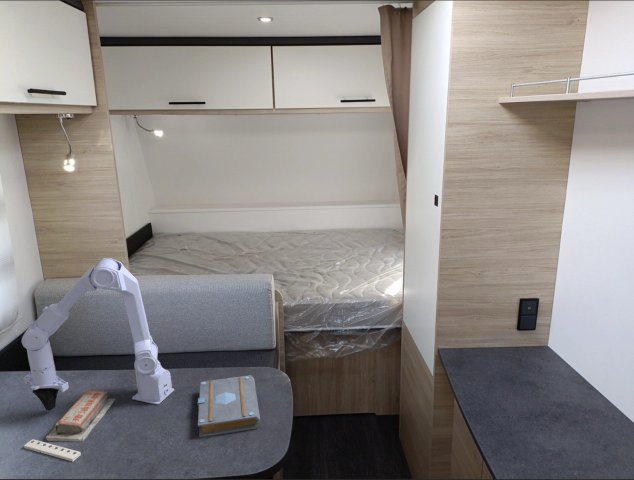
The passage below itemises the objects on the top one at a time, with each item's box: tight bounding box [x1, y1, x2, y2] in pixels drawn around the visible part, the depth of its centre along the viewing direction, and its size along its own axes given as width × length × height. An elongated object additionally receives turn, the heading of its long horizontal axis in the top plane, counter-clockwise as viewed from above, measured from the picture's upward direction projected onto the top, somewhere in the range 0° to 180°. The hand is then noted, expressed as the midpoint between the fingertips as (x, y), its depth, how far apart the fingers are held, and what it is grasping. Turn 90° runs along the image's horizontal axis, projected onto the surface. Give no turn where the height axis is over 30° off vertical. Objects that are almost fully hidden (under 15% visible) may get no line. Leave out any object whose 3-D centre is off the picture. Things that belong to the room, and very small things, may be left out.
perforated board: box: [23, 439, 82, 462], centre depth 116 cm, size 16×2×1 cm, turn 71°
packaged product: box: [45, 389, 116, 443], centre depth 128 cm, size 18×5×10 cm
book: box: [197, 374, 261, 438], centre depth 131 cm, size 21×16×5 cm
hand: (50, 408), depth 131 cm, fingers closed
